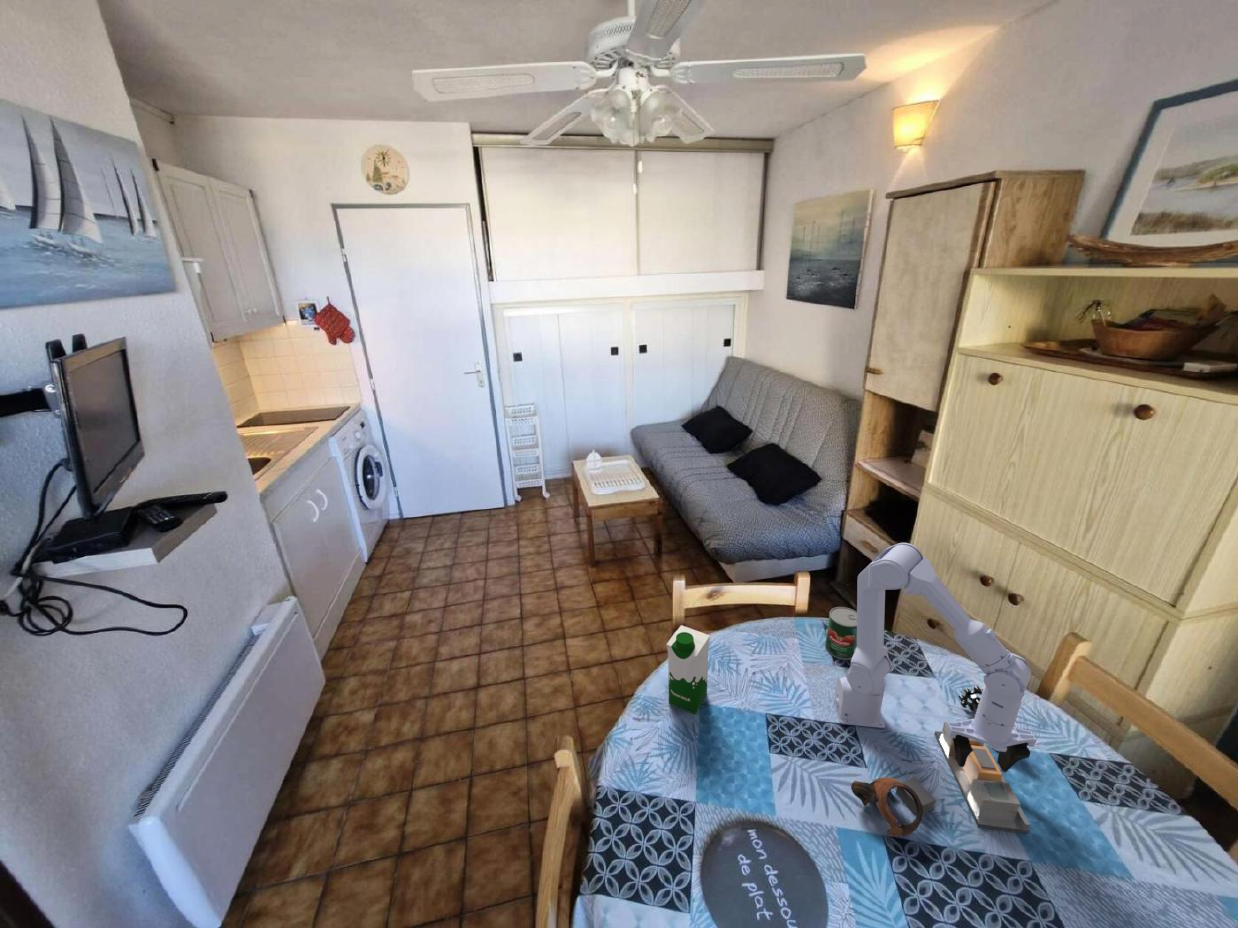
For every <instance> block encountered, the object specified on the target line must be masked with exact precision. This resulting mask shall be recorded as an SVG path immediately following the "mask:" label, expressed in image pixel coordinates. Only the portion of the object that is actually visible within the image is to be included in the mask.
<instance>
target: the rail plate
mask: <svg viewBox="0 0 1238 928" xmlns="http://www.w3.org/2000/svg"><path fill="white" fill-rule="evenodd" d="M947 722H948V721H944V722H943V727H942V731H939V730H934V736H935V739H936V742H937V743H938V746H939V748H940V750H941V752H942V754H943V756H944V758H945V760H946V762H947V765H948V766H949V769H950V771H951V774H952V775H953V778H954V780H955V782H956V784H957V786H958V787H959V790H960V792H961V795H962V796H963V798H964V800H965V803H966V805H967V808H968V809H969V811H970V813H971V816H972V818H973V820H974V822H975V824H976V827H977V828H978V829H985V830H986V829H987V830H994V831H1001V832H1006V833H1007V832H1009V833H1013V834H1014V833H1016V834H1023V835H1027V834H1028V833H1029V831H1030V830H1029V829H1030V828H1031V827H1030V826H1031V823H1030V822H1029V820H1028V818H1027V816H1026V815H1025V813H1024V811H1023V809H1022V808H1021V803H1020V800H1019V799H1018V797H1017V796H1016V794H1015V792H1014V790H1013V787H1011V784H1010V783H1009V782H1007V781H1006V780H1005V778H1004V775H1002V778H1001V781H1000V782H994V781H986V780H977V779H973V781H972V785H971V784H970V782H969V780H968V777H967V775H966V773H965V771H964V769H963V767H960V766H959V765H958V763H957V761H956V759H955V747H954V742H953V739H952V738H950V737H949V735H948V733H947V731H946V725H947ZM969 740H970V742H969V743H970V745H973V746H982V747H987V746H986V745H987V744H985V743H982V742H979V741H976V740H973V739H970V738H969Z"/></svg>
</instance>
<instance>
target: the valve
mask: <svg viewBox="0 0 1238 928" xmlns="http://www.w3.org/2000/svg"><path fill="white" fill-rule="evenodd" d="M963 691H964V692H963V693H965V694H959V695H958V699H959V700H960V705H961V706H962V708H963V709H966V708H967V706H968V708H969V709H970V711H972V712H973V711H977V708H978V705H979V702H980V698H981V697H979V695H980V696H981V695H982V691H983V688H982V689H981V687H980V686H978V685H975V686H973V689H972V690H971V689H970V688H964V689H963ZM977 694H979V695H977ZM968 699H969V700H968ZM1014 727H1016V725H1015V724H1014ZM1016 728H1017V727H1016ZM989 746H990V748H991V749H993V750H994V748H993V747H992V746H991V745H989Z"/></svg>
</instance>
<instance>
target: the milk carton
mask: <svg viewBox="0 0 1238 928" xmlns="http://www.w3.org/2000/svg"><path fill="white" fill-rule="evenodd" d="M710 638H711V635H709V634H707V633H705V632H702V631H698V630H696V629H693V628H691V627H688V626H686V625H685V626H684V625H682V624H681V625H680V626H679V627H678V629H677V630H676V631H675V632H673V635H672V636H671V638H670V639H668V641H667V643H666V649H667V654H668V655H667V656H668V657H667V663H668V669H667V670H668V672H667V673H668V703H669V704H671V705H673V706H675V707H677V708H681V709H682V710H683V711H687V712H688V711H689V712H688V713H691V714H693V715H696V713H698V710H699V709H700V706H701V705H702V703H703V701H704V700H705V698H706V697H707V696H708V695H707V694H708V676H709V675H708V672H709V670H708V669H709V665H708V664H709V649H710Z"/></svg>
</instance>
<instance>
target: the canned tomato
mask: <svg viewBox="0 0 1238 928" xmlns="http://www.w3.org/2000/svg"><path fill="white" fill-rule="evenodd" d="M828 614H829V615H828V616H829V617H828V623H827V629H826V630H827V631H826V635H825V637H826V638H825V644H824V648H825V650H826V652H827V653H828V654H829V655H830V656H832V657H833V658H836V659H838V660H846V661H847V660H851V659H852V657H853V655H854V652H855V650H856V647H857V610H855V609H852V608H849V607H846V606H845V607H844V606H835V607H833V608H831V610H830V611H829V613H828Z"/></svg>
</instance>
